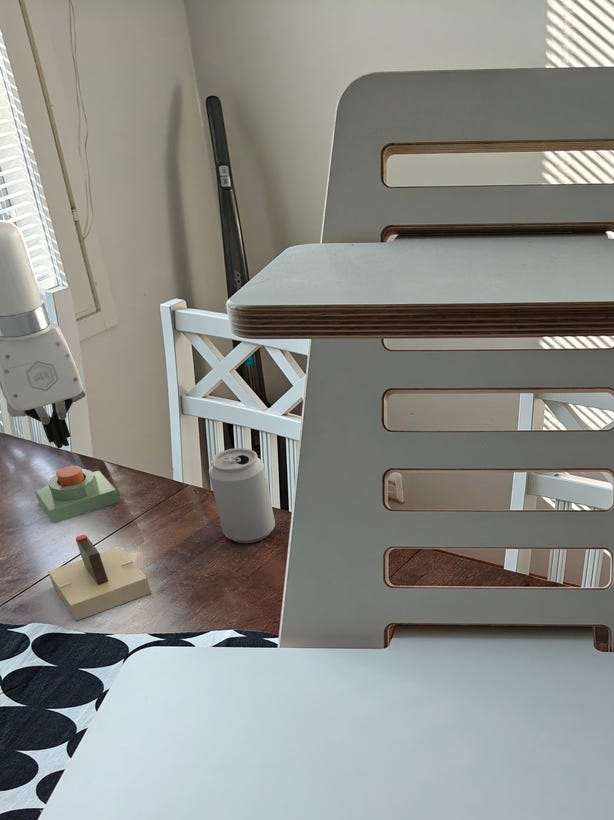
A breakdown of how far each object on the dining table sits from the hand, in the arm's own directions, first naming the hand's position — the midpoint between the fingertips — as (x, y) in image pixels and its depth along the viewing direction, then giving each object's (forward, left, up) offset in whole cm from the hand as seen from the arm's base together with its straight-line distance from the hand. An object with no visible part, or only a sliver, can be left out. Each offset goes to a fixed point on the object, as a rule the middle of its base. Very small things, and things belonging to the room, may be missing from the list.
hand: (61, 443), depth 144 cm
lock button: (0, 0, -6) cm, 6 cm away
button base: (0, 0, -10) cm, 10 cm away
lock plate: (-5, -26, -10) cm, 28 cm away
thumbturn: (-5, -26, -7) cm, 27 cm away
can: (+17, -25, -10) cm, 32 cm away
